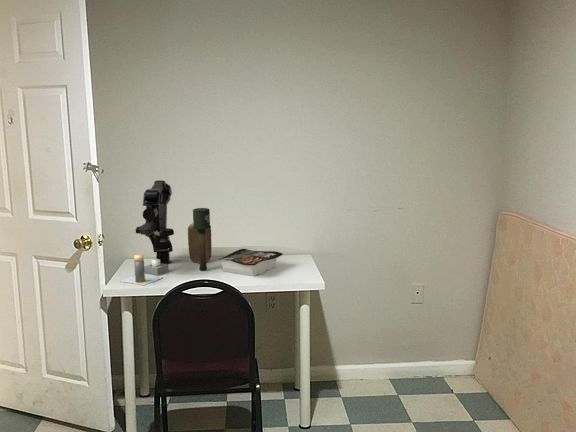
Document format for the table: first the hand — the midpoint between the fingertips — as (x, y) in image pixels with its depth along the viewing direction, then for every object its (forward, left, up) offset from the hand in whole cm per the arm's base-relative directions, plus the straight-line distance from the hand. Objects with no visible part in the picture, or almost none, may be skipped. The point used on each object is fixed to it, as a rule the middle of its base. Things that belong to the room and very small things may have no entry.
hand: (155, 248), depth 284 cm
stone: (-26, +7, -12) cm, 30 cm away
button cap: (0, 0, -11) cm, 11 cm away
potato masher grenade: (-13, +18, -12) cm, 25 cm away
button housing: (0, 0, -12) cm, 12 cm away
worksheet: (+13, +2, -12) cm, 17 cm away
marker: (+16, +4, -11) cm, 20 cm away
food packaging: (-24, +37, -12) cm, 46 cm away
